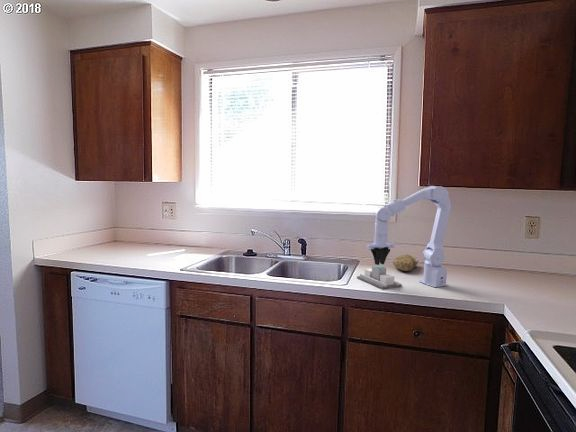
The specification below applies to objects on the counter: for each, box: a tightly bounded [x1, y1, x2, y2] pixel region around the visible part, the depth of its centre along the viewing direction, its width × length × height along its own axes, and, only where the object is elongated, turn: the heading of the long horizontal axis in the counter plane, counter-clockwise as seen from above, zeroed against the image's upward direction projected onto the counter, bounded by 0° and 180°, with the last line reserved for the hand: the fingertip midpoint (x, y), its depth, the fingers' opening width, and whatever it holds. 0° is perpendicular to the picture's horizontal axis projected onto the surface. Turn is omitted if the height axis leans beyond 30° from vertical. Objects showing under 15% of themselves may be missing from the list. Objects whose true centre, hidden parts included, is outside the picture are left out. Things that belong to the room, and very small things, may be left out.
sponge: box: [392, 254, 419, 272], centre depth 193 cm, size 13×8×20 cm
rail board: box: [356, 267, 403, 290], centre depth 167 cm, size 18×11×4 cm, turn 25°
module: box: [371, 265, 387, 281], centre depth 167 cm, size 5×4×6 cm
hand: (379, 264), depth 166 cm, fingers open, 2 cm apart
